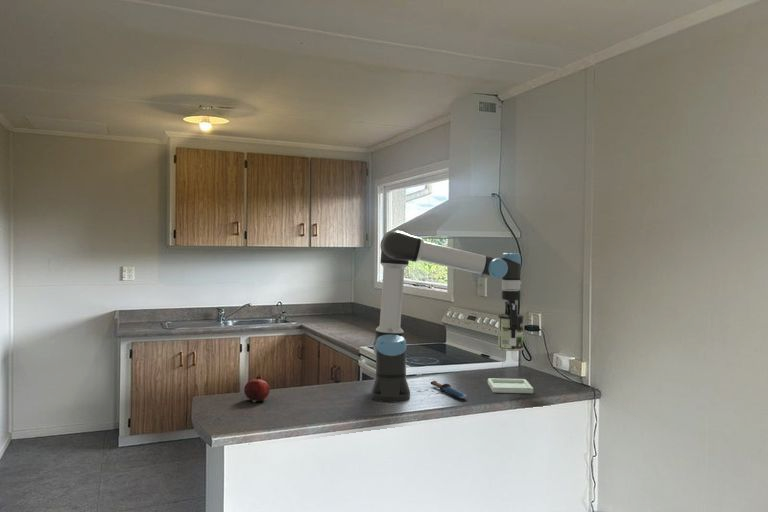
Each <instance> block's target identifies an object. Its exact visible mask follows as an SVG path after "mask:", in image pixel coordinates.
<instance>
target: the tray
mask: <svg viewBox="0 0 768 512" xmlns="http://www.w3.org/2000/svg"><path fill="white" fill-rule="evenodd" d="M487 384H488V386H489V388H490V389H491V391H492V393H497V394H498V393H501V394H502V393H505V394H507V393H509V394H534V387H533V386H532V385H531V383H530V382H529V381H528V380H527V379H525V378H495V377H494V378H493V377H492V378H491V377H489V378H487Z"/></svg>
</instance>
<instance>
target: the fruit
mask: <svg viewBox="0 0 768 512" xmlns="http://www.w3.org/2000/svg"><path fill="white" fill-rule="evenodd" d="M269 385H270V384H268V383H267V381H265V380H263V378H262V375H260V374H259V373H258V375H257V376H256V377H255V378H253V379H250V380H249V381H247V382H246V384H245V385H244V387H243V389H244V391H243V393H244V395H245V397H246V398H248V400H250V401H252V402H253V403H254V402H255V403H258V402H262V401H264V400H265V399H266V398H267V397H268V396H269V395H270V386H269Z"/></svg>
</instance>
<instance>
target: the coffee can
mask: <svg viewBox="0 0 768 512" xmlns="http://www.w3.org/2000/svg"><path fill="white" fill-rule="evenodd" d="M497 317H498V343H497V344H498V347H497V349H499V350H501V351H506V352H517V351H518V352H519V351H523V350H524V315H523V314H518V313H517V327H518V329H517V330H516V346H509V330H508V328H510V319H511V317H510V316H509V315H506V314H505V313H500V314H498V316H497Z"/></svg>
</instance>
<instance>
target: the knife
mask: <svg viewBox="0 0 768 512" xmlns="http://www.w3.org/2000/svg"><path fill="white" fill-rule="evenodd" d="M430 385H432V386H435V387H436V388H438V389H439V391H440V392H441V393H447V394H449V395H452V396H453V397H456V398H457V399H463V398H466V397H467V396H468V395H467V394H466V393H463V392H461V391H459V390H458V389H455V388H453V387H452V386H451V385H450V384H449V383H443V384H441V383H438V381H437V380H432V381H431V382H430Z"/></svg>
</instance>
